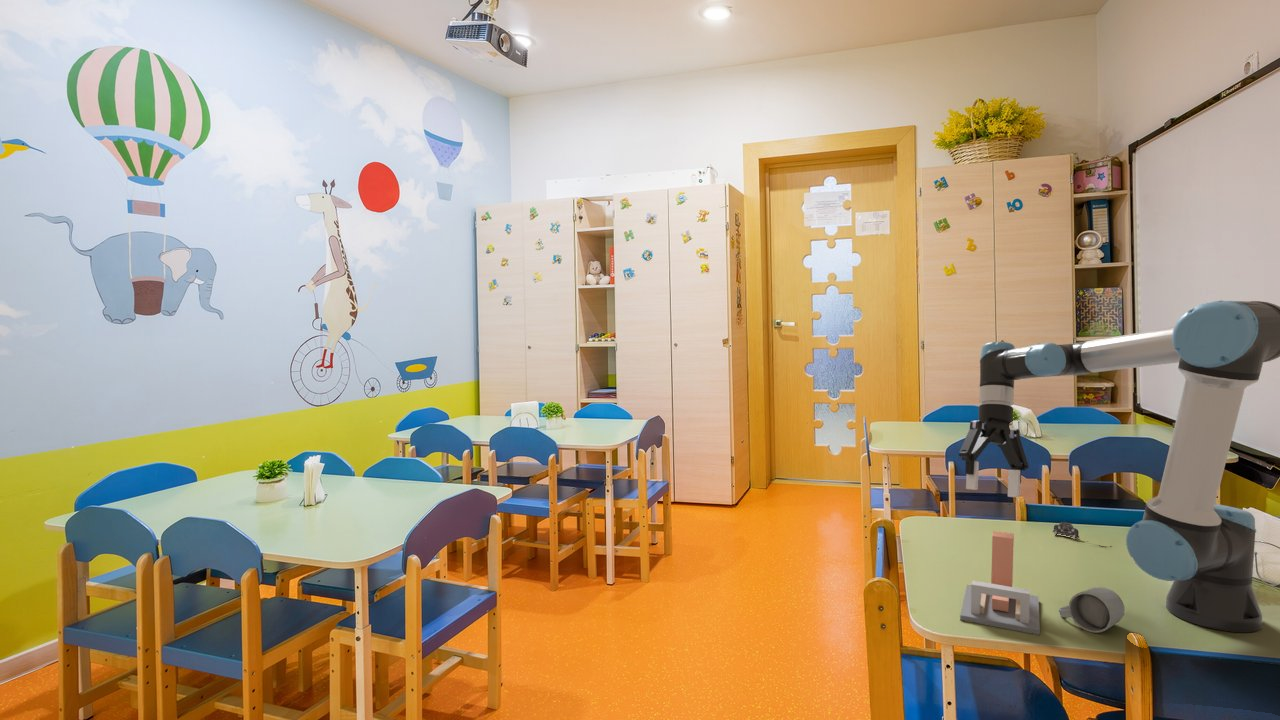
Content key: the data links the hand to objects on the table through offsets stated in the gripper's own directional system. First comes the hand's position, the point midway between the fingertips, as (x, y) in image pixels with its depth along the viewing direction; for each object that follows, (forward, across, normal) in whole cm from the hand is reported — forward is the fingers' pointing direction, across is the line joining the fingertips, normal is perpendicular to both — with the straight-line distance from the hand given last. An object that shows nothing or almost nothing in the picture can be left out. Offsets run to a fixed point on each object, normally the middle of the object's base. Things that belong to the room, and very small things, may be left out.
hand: (993, 493), depth 165 cm
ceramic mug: (+25, -1, +23) cm, 34 cm away
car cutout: (+8, -46, -10) cm, 48 cm away
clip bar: (+23, +9, +10) cm, 27 cm away
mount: (+25, +10, +12) cm, 30 cm away
